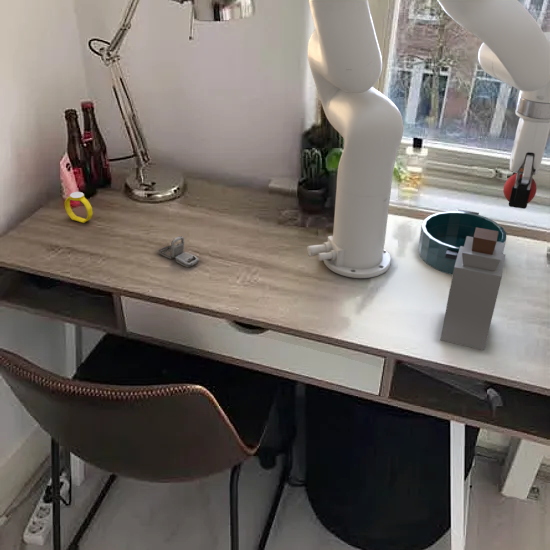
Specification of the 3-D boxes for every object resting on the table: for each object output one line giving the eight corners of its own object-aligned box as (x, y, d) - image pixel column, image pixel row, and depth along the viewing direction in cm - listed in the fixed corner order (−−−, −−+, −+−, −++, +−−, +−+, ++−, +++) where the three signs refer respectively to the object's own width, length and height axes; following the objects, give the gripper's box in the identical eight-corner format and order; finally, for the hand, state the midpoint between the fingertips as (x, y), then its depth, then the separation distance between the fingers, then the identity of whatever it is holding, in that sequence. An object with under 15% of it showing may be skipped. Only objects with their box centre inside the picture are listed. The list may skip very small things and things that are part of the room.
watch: (64, 220, 134) (59, 194, 131) (72, 215, 136) (68, 189, 133) (88, 226, 132) (83, 200, 129) (96, 220, 134) (92, 194, 131)
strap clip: (200, 262, 121) (199, 242, 118) (188, 268, 119) (187, 248, 116) (169, 247, 125) (167, 227, 123) (157, 253, 123) (155, 233, 121)
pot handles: (467, 262, 114) (468, 257, 114) (444, 257, 115) (445, 253, 115) (478, 216, 129) (479, 212, 129) (457, 213, 130) (458, 209, 130)
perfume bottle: (440, 340, 102) (459, 240, 92) (446, 316, 107) (465, 220, 98) (484, 350, 100) (508, 249, 90) (488, 325, 105) (511, 228, 96)
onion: (527, 201, 127) (537, 163, 123) (534, 214, 122) (544, 175, 118) (497, 199, 128) (505, 161, 123) (503, 212, 123) (512, 173, 119)
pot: (443, 281, 116) (447, 255, 114) (404, 241, 129) (408, 216, 126) (517, 269, 120) (523, 244, 117) (472, 231, 133) (477, 207, 130)
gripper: (517, 91, 122) (498, 179, 132) (516, 120, 109) (495, 216, 118) (559, 95, 121) (537, 184, 130) (563, 125, 107) (538, 222, 116)
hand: (517, 198), depth 124 cm, fingers closed on onion, 5 cm apart
